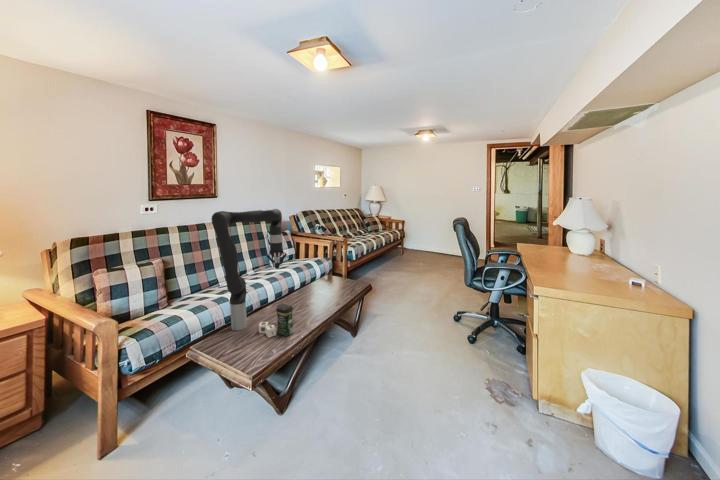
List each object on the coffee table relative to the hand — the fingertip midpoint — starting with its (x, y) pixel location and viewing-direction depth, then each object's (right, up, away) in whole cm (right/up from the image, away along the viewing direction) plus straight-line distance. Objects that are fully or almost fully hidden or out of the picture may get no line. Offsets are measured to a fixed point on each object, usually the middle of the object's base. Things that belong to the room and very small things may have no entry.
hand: (277, 268), depth 183 cm
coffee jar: (+6, -40, -2) cm, 41 cm away
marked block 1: (-8, -40, 0) cm, 40 cm away
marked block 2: (-3, -40, -4) cm, 41 cm away
